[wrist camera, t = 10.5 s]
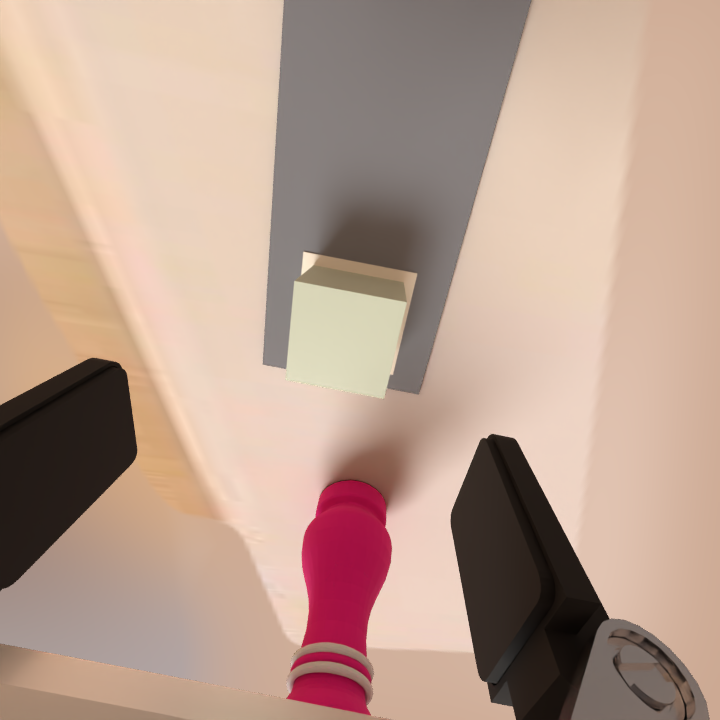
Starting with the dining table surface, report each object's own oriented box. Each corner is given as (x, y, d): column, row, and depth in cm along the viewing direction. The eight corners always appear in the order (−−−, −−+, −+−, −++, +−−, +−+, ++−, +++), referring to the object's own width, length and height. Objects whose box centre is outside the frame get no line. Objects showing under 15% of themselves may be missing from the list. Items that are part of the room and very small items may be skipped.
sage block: (313, 265, 23) (294, 280, 18) (403, 282, 23) (407, 302, 18) (304, 348, 25) (285, 380, 21) (385, 363, 25) (383, 399, 21)
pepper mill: (394, 478, 30) (400, 893, 12) (388, 535, 33) (386, 936, 15) (312, 471, 31) (200, 863, 12) (314, 528, 34) (226, 910, 15)
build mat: (300, -225, 15) (297, -238, 14) (578, -172, 15) (584, -184, 14) (264, 362, 26) (262, 365, 26) (418, 391, 26) (418, 395, 26)
